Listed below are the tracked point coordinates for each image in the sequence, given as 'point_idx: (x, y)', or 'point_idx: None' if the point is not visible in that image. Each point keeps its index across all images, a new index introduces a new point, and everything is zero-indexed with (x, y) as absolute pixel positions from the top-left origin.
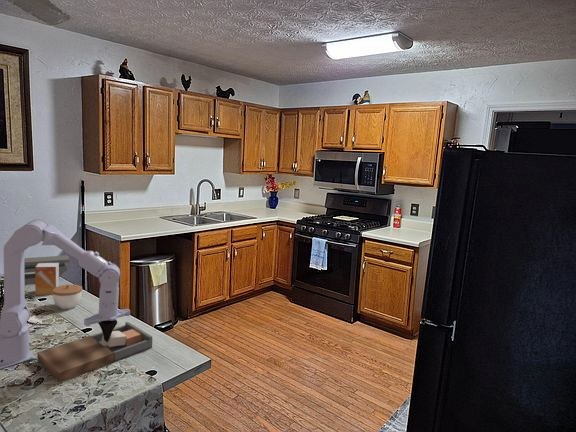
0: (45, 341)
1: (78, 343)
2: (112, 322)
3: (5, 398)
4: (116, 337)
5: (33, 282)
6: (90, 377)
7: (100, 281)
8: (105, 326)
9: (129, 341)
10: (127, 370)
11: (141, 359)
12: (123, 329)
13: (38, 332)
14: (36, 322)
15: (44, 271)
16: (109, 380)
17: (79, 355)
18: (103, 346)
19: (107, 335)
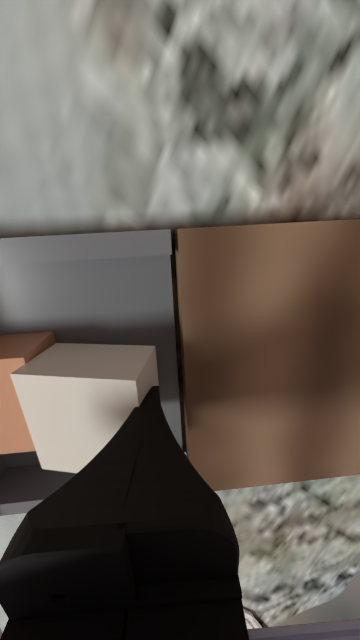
0: (289, 530)
1: (269, 454)
2: (87, 567)
3: None
4: (95, 377)
5: None
6: (344, 148)
7: None
8: (216, 507)
9: (18, 346)
10: (149, 46)
11: (13, 132)
12: (12, 487)
13: (274, 579)
14: (252, 623)
15: None
16: (298, 4)
17: (338, 339)
18: (189, 359)
19: (160, 414)
